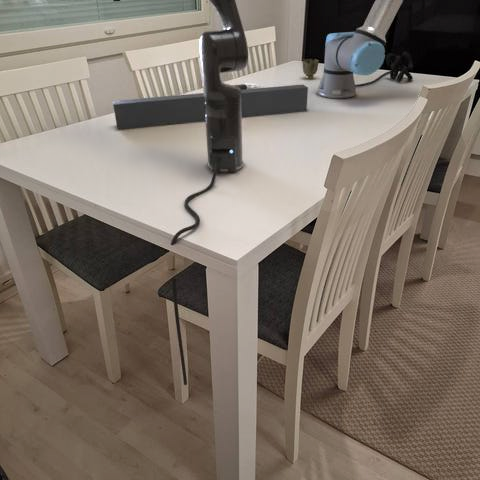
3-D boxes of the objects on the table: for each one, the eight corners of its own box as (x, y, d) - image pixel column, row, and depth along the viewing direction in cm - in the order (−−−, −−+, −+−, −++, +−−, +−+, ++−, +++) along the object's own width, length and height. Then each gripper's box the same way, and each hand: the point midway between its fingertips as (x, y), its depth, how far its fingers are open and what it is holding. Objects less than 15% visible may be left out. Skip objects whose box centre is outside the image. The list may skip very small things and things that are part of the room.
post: (117, 129, 148) (113, 104, 143) (116, 125, 151) (112, 100, 147) (306, 110, 162) (308, 87, 158) (301, 107, 166) (302, 84, 162)
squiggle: (400, 92, 202) (376, 71, 205) (417, 76, 202) (392, 56, 205) (405, 81, 191) (380, 59, 194) (423, 64, 191) (397, 42, 194)
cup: (298, 79, 205) (299, 60, 201) (304, 76, 210) (305, 58, 206) (314, 80, 202) (315, 62, 198) (319, 77, 207) (321, 59, 203)
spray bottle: (204, 97, 180) (243, 86, 196) (225, 101, 174) (263, 90, 190) (204, 90, 178) (243, 79, 194) (225, 94, 172) (263, 83, 188)
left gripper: (121, -68, 117) (130, 1, 126) (119, -65, 129) (128, -2, 138) (92, -68, 116) (103, 2, 124) (92, -65, 128) (103, -1, 136)
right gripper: (326, -87, 123) (320, 0, 134) (294, -79, 144) (291, -5, 155) (301, -87, 122) (297, 1, 133) (272, -79, 142) (270, -4, 153)
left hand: (116, 0), depth 131 cm, fingers open, 8 cm apart
